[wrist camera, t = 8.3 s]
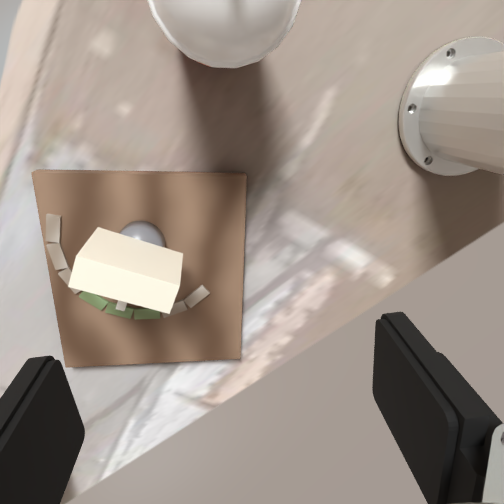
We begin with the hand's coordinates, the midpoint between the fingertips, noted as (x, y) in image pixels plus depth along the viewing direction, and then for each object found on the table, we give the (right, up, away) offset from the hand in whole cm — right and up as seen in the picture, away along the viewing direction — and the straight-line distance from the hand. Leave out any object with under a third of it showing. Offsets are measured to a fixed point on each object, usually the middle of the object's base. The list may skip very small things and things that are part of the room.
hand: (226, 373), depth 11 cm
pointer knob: (-11, +2, +26) cm, 29 cm away
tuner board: (-10, +2, +29) cm, 30 cm away
